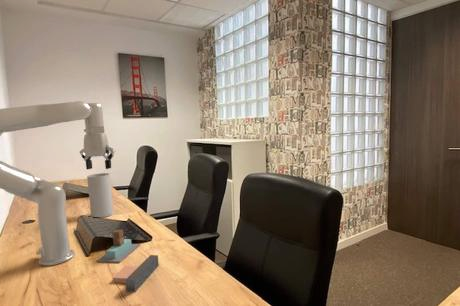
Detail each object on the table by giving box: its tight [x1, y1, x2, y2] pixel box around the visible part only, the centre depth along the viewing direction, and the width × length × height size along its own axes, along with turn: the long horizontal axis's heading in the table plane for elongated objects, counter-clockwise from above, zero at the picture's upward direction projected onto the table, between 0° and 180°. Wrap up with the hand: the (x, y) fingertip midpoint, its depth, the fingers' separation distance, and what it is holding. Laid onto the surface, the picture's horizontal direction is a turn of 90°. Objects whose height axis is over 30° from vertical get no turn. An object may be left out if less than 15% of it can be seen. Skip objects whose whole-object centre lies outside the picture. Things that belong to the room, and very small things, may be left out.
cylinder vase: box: [86, 172, 114, 219], centre depth 173 cm, size 12×12×25 cm
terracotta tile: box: [112, 265, 139, 284], centre depth 100 cm, size 8×8×2 cm
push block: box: [105, 229, 132, 259], centre depth 119 cm, size 4×12×9 cm, turn 169°
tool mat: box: [96, 243, 141, 264], centre depth 119 cm, size 10×16×1 cm, turn 169°
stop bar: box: [125, 254, 160, 293], centre depth 98 cm, size 3×17×4 cm, turn 169°
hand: (98, 168), depth 129 cm, fingers open, 9 cm apart
